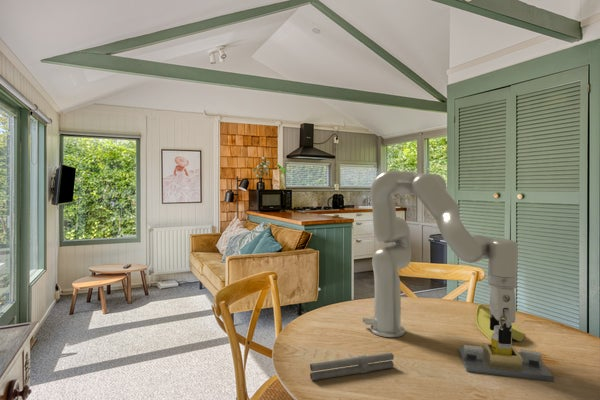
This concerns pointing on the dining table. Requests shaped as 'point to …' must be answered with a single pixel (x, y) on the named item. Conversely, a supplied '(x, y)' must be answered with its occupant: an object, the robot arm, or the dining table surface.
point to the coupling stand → (505, 362)
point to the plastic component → (484, 324)
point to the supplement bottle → (499, 344)
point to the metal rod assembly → (360, 368)
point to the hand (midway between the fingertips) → (499, 336)
